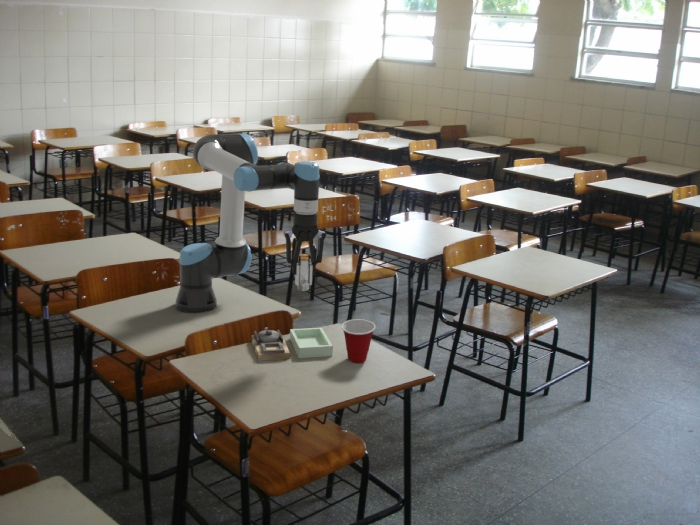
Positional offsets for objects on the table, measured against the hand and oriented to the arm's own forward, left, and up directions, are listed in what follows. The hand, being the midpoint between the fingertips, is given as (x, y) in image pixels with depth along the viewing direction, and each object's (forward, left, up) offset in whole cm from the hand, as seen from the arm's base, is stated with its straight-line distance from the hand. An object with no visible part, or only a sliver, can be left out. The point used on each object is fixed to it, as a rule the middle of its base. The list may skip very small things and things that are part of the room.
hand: (303, 283), depth 226 cm
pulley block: (-1, -10, -23) cm, 25 cm away
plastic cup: (+11, +16, -23) cm, 30 cm away
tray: (-1, +3, -23) cm, 23 cm away
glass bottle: (0, 0, -2) cm, 2 cm away
